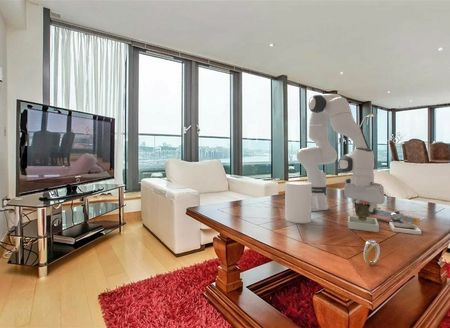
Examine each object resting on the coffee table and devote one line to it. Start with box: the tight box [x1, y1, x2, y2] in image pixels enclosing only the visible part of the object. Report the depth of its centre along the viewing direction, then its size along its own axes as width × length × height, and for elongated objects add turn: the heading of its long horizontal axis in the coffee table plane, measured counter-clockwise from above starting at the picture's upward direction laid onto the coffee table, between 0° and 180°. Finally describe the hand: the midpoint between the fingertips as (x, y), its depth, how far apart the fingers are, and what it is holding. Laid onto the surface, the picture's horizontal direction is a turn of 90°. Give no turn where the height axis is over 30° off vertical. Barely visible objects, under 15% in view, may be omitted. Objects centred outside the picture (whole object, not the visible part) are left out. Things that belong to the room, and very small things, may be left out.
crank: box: [370, 207, 421, 226], centre depth 124 cm, size 22×6×4 cm, turn 22°
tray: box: [347, 215, 380, 233], centre depth 120 cm, size 12×12×3 cm
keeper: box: [389, 221, 422, 235], centre depth 115 cm, size 10×10×2 cm
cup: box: [354, 202, 371, 221], centre depth 119 cm, size 8×7×8 cm
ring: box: [362, 239, 381, 266], centre depth 81 cm, size 7×3×8 cm, turn 113°
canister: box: [284, 180, 312, 224], centre depth 133 cm, size 14×14×20 cm
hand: (362, 209), depth 119 cm, fingers closed on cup, 7 cm apart
